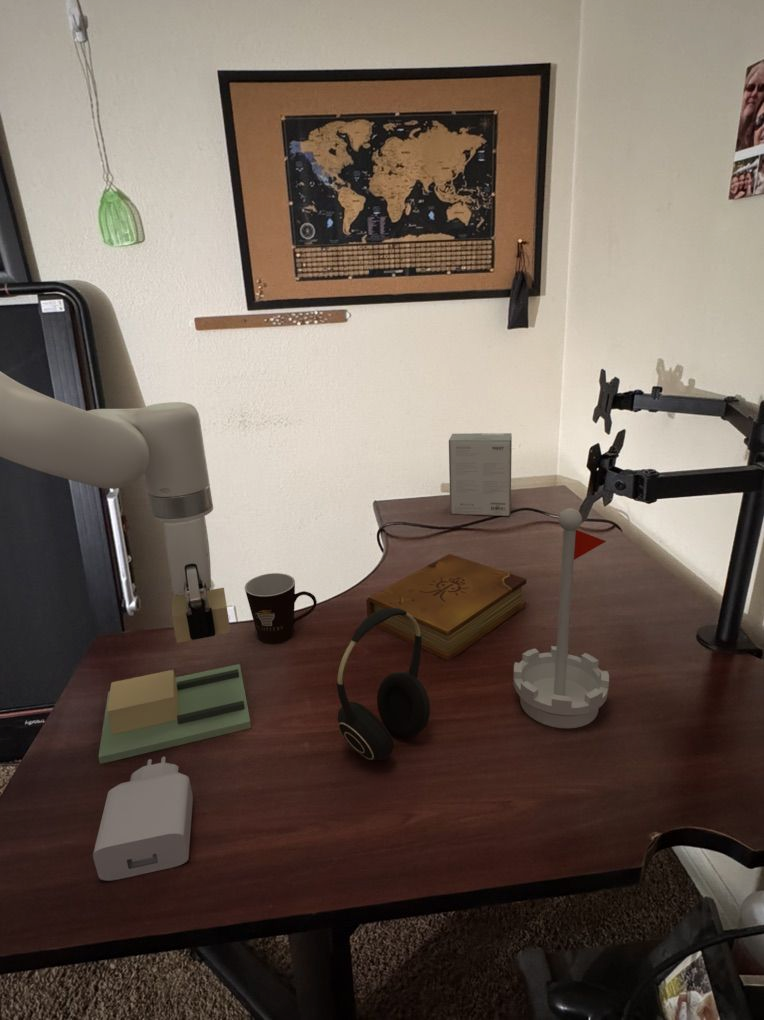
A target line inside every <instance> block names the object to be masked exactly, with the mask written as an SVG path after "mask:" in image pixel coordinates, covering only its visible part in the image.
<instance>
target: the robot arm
mask: <svg viewBox="0 0 764 1020" xmlns="http://www.w3.org/2000/svg"><path fill="white" fill-rule="evenodd" d="M201 424H202V423H201V419H200V414H199V411H198V410H197V408H196V407H195V405H192V404H191V403H188V402H182V401H171V402H168V401H167V402H160V403H154V404H149V405H146V406H144V407H137V408H95V409H90V410H85V409H82V408H80V407H77V406H74V405H72V404H69V403H66V402H62V401H61V400H58V399H56V398H53V397H51V396H48V395H45V394H44V393H41V392H38V391H36V390H34V389H32V388H30V387H28V386H26V385H24V384H22V383H20V382H19V381H17V380H15V379H13V378H12V377H10V376H8V375H7V374H6V373H3V371H1V370H0V458H3V459H5V460H7V461H10V462H13V463H16V464H19V465H21V466H24V467H27V468H29V469H33V470H35V471H38V472H42V473H45V474H49V475H51V476H55V477H58V478H63V479H65V480H69V481H72V482H77V483H80V484H83V485H88V486H91V487H95V488H99V489H107V490H116V489H123V488H126V487H129V486H131V485H132V484H133V485H134V483H137V482H138V480H140V479H141V478H142V476H143V475H144V478H145V484H146V489H147V494H148V501H149V506H150V511H151V516H152V519H153V520H155V521H156V522H160V523H161V526H162V535H163V543H164V548H165V553H166V554H165V555H166V561H167V565H168V566H167V567H168V572H169V579H170V585H171V590H172V591H171V593H172V595H173V596H178V595H184V594H185V600H186V606H187V612H186V616H187V621H188V627H189V632H190V638H191V639H192V640H191V641H196V640H201V639H207V638H211V637H215V636H214V635H215V627H214V621H213V615H212V608H209V603H208V596H207V591H208V590H211V588H212V570H211V553H210V542H209V535H208V529H207V528H208V527H207V522H206V516H207V515H209V514H211V513H212V512H213V510H214V503H213V496H212V489H211V483H210V477H209V469H208V463H207V458H206V450H205V445H204V443H205V442H204V437H203V430H202V425H201ZM200 593H203V598H204V600H203V598H201V596H200Z"/></svg>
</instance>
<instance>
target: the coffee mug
mask: <svg viewBox="0 0 764 1020" xmlns="http://www.w3.org/2000/svg"><path fill="white" fill-rule="evenodd" d="M244 591H245V595H246V599H247V603H248V606H249V609H250V613H251V618H252V620H253V624H254V629H255V632H256V635H257V639H258V641H259V642H261V643H263V644H265V645H278V644H283V643H286V642H287V641H289V640H290V639H291V638H293V636H294V634H295V625H296V622H298V621H300V620H302V619H303V618H305V617H307V616H309V615H310V614H311V613H312V612H314V610H315V609H316V607H317V604H318V601H317V599H316V596H315V594H313V593H311V592H309V591H305V590H303V591H298V592H297V593H296V580H295V578H294V577H293V576H291V575H289V574H287V573H281V572H279V573H278V572H271V573H265V574H261V575H257V576H256V577H253V578H251V579H249V580H248V581H247V582H246V584H245V585H244ZM302 596H306V597H307V596H308V597H309V598H310V599H311V600H312V602H313V605H312V607H311V608H310V609H309V610H307V611H305V612H304V613H302V614H299V615H298V616H297V617H295V606H296V605H295V603H296V602H297V600H298V598H299V597H302Z"/></svg>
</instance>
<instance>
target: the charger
mask: <svg viewBox="0 0 764 1020" xmlns="http://www.w3.org/2000/svg"><path fill="white" fill-rule="evenodd" d="M166 759H167V758H166V756H162V757H161V760H160V762H158V763H154V764H152V762H153V760H152V759H151V758H150V759H148V760H147V763H146V765H143V766H142V767H140V768H138V769H137V770H134V772H132V774H131V775H130V779H129V781H126V782H120V783H119V784H117V785H115V786H114V787H113V788H111V789H110V790H108V791H107V794H106V795H107V796H106V799H105V802H104V803H105V804H104V808H103V813H102V815H101V820H100V824H99V827H98V828H99V829H98V832H97V836H96V841H95V845H94V849H93V852H92V859H93V862H94V865H95V870H96V874H97V876H98V879H99V880H102V881H116V880H117V881H118V880H122V879H126V878H127V879H128V878H131V877H135V876H136V877H137V876H140V875H145V874H149V873H154V872H159V871H163V870H167V869H173V868H176V867H179V866H182V865H184V864H185V863H187V861H189V856H190V845H191V844H190V843H191V832H192V831H191V829H192V816H193V805H194V803H193V802H194V796H193V795H194V794H193V790H192V785H191V780H190V777H189V776H188V775H185V774H184V773H180V772H179V768H180V767H179V766H178V765H177V764H174V763H169V762H166Z"/></svg>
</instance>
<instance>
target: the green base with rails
mask: <svg viewBox="0 0 764 1020" xmlns="http://www.w3.org/2000/svg"><path fill="white" fill-rule="evenodd" d="M246 696H247V695H246V691H245V683H244V678H243V673H242V668H241V664H240V663H237V664H232V665H228V666H224V667H219V668H214V669H209V670H204V671H199V672H195V673H190V674H189V673H188V674H186V675H180V676H176V675H175V670H174V669H169V670H164V671H161V672H160V671H159V672H154V673H149V674H146V675H142V676H136V677H131V678H126V679H121V680H116V681H112V682H111V683H110V690H109V691H108V692H107V698H106V703H105V711H104V717H103V725H102V731H101V736H100V744H99V749H98V761H99V764H100V765H103V764H107V763H110V762H116V761H120V760H123V759H127V758H132V757H135V756H140V755H144V754H148V753H153V752H157V751H161V750H166V749H169V748H173V747H177V746H181V745H182V746H183V745H186V744H190V743H191V744H192V743H194V742H199V741H202V740H207V739H211V738H216V737H221V736H224V735H228V734H232V733H233V734H234V733H235V732H240V731H241V732H242V731H244V730H249V729H252V724H251V717H250V711H249V706H248V701H247V697H246Z"/></svg>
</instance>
